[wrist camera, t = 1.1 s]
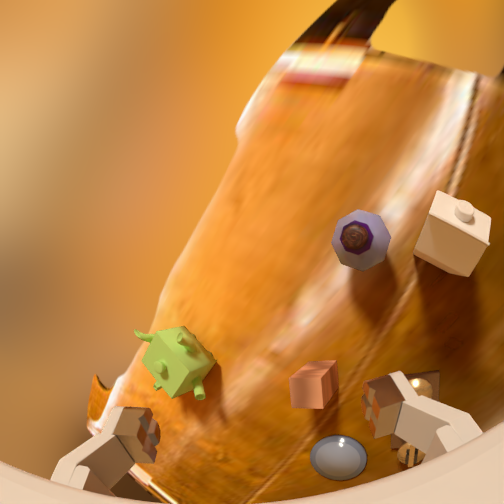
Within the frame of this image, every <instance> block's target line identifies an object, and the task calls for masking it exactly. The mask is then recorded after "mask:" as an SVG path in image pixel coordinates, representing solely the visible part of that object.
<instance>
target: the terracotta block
mask: <svg viewBox="0 0 504 504" xmlns="http://www.w3.org/2000/svg"><path fill="white" fill-rule="evenodd" d="M289 386H290V395H291V405H292V408H312V409H323V408H324V407H325V406H326V404H327V403H328V401H329V400H330V399H331V397H332V396H333V394H334V393H335V392H336V390H337V389H338V387H339V386H338V372H337V360H335V361H313V362H308V363H307V364H306V365H304V366H303V367H302V368H301V369H300V370H298V371H297V372H296V373H295V374H293V375H292V376H291V377H290V378H289Z"/></svg>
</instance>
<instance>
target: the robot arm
mask: <svg viewBox="0 0 504 504" xmlns="http://www.w3.org/2000/svg"><path fill="white" fill-rule="evenodd" d="M362 389H363V391H364V394H363V396H362V397H361V407H362V412H363V415H364V417H365V419H367V420H369V429H370V431H371V433H372V436H373V438H374V439H375V438H378V437H382V436H385V435H389V434H392V433H394V434H395V435H397V436H398V437H400V438H402V439H403V440H405V441H406V442H408V443H409V444H411V445H412V446H414V447H416V448H417V449H419V450H420V451H422V452H424V453H425V454H426V455H425V457H424V459H423V461H422V463H421V464H420V465H418V466H415V467H413V468H410V469H407V470H405V471H402V472H399V473H397V474H394V475H391V476H388V477H385V478H382V479H379V480H376V481H373V482H369V483H366V484H362V485H359V486H355V487H351V488H348V489H344V490H339V491H335V492H331V493H326V494H321V495H316V496H311V497H305V498H299V499H293V500H286V501H278V502H269V503H259V504H504V421H502V422H501V423H499V424H498V425H496V426H495V427H493V428H491V429H490V430H488V431H486V432H485V433H483V432H482V431H481V430H480V428H479V427H478V425H477V424H476V423H475V421H474V420H473V419H472V417H471V416H470V415H469V414H468V413H466V412H463V411H460V410H458V409H455V408H453V407H450V406H448V405H445V404H443V403H440V402H437V401H435V400H433V399H430V398H428V397H425V396H423V395H421V396H418V395H417V393H416V392H415V390H414V389H413V387H412V386H411V384H410V383H409V381H408V380H407V379H406V377H405V376H404V374H403V373H402V372H401V371H398V372H394V373H391V374H388V375H385V376H381V377H378V378H374V379H370V380H367V381H364V383H363V388H362ZM152 416H153V413H152V411H151V409H150V408H141V407H120V406H115V407H113V408H112V410H111V412H110V414H109V417H108V419H107V421H106V423H105V426H104V428H103V430H102V432H101V434H100V433H98V434H96V435H95V436H93V437H92V438H91V439H89V440H88V441H86V442H85V443H84V444H82V445H81V446H79V447H78V448H76V449H75V450H73V451H72V452H70V453H69V454H68V455H66V456H64V457H63V458H61V459H60V460H59V462H58V464H57V466H56V468H55V471H54V473H53V475H52V477H51V479H50V480H48V479H45V478H42V477H39V476H36V475H33V474H30V473H28V472H26V471H23V470H21V469H18V468H15V467H13V466H11V465H8V464H6V463H4V462H2V461H0V504H164V503H154V502H145V501H138V500H131V499H125V498H119V497H116V496H115V495H114V494H113V493H112V492H111V491H110V489H111V488H112V487H113V486H114V485H115V484H116V482H118V481H119V480H120V479H121V478H122V477H123V475H125V474H126V472H127V471H128V470H129V469H130V468H131V467H132V466H133V465H134V464H135V463H152V464H154V462H155V458H156V454H157V450H156V448H155V446H156V445H157V444H159V442H160V428H159V425H158V423H157V421H155V420H154V419H152Z"/></svg>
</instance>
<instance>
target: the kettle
mask: <svg viewBox="0 0 504 504" xmlns="http://www.w3.org/2000/svg"><path fill="white" fill-rule="evenodd" d="M134 332H135V334H136V335H137V336H138V338H140V339H141V340H144V341H147V342H150V345H149V347H148V349H147V351H146V353H145V355H144V357H143V359H142V362H143V364H144V365H145V366H146V368H147V369H148V370H149V371H150V373H151V374H152V375H153V377H154V378H155V379H156V380H157V381H156V383H155V384H154V389H155V390H156V391H157V390H159V389H161V388H163V389H164V390H165V391H166V392H167V394H168V395H169V396H170V397H171V398H172V399H173V398H175V397H177V396H180V395H182V394H184V393H187V392H189V391H191V390H193V389H194V395H195V399H197V400H203V399H205V398H206V395H205V391H204V387H203V383H202V381H203V380H204V378H205V377H206V375H207V374H208V373H209V371H210V370H211V368H212V367H213V366H214V364H215V363H216V360H215V359H214V357H213V355H212V353H211V352H209V351H207V350H206V349H205V348H204V347H203V346H202V345H201V344H200V343H199V342H198V340H197V339H196V337H195V335H194V334H191V333H190V332H189V331H188V330H187V328H186V327H185V326H181V327H176V328H171V329H166V330H161V331H157V332H156V333H155V334H144V333H141V332H139V331H138V330H136V329H135V330H134Z"/></svg>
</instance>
